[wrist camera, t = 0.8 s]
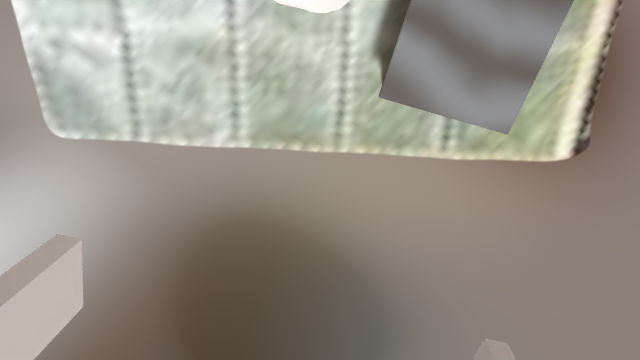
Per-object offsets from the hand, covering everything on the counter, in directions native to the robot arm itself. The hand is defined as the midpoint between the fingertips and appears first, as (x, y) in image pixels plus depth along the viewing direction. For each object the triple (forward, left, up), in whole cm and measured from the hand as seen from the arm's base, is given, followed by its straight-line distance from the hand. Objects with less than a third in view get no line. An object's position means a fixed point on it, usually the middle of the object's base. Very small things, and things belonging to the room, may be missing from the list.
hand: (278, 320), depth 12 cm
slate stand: (-10, +11, -32) cm, 35 cm away
